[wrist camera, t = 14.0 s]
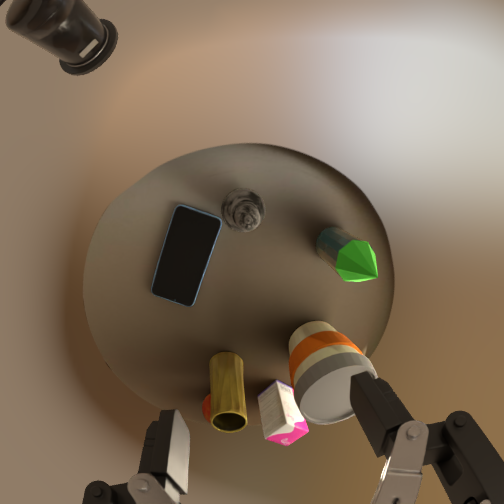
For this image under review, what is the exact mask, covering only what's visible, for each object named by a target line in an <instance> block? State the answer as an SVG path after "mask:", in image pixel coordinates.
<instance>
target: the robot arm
mask: <svg viewBox="0 0 504 504" xmlns="http://www.w3.org/2000/svg"><path fill="white" fill-rule="evenodd" d="M5 1H6V0H0V6H1V5H2V4H3V3H4V2H5ZM5 23H6V26H7V27H8V29H9V30H11V31H12V32H14V33H16V34H18V35H20V36H22V37H23V38H25V39H27V40H29V41H30V42H32V43H34V44H36V45H37V46H39V47H41V48H42V49H44V50H46V51H48V52H49V53H51V54H53V55H54V56H56V57H57V58H59V59H60V60H62V61H64V62H65V63H66V64H67V65H69V66H71V67H83V66H85V65H88V64H90V63H91V62H93V61H94V60H95V59H97V58H98V57H99V56H100V55H101V53H102V52H103V51H104V49H105V48H106V46H107V44H108V41H109V31H108V29H107V28H106V27H105V26H104V25H103V24H102V23H101V21H100V19H99V18H98V17H97V16H96V15H95V14H94V13H93V11H92V10H91V9H90V8H89V7H88V6H87V5H86V4H85V2H84V1H83V0H13V1H12V3H11V5H10V7H9V9H8V11H7V14H6V20H5ZM349 398H350V404H351V407H352V409H353V411H354V413H355V415H356V417H357V419H358V421H359V422H360V425H361V426H362V428H363V430H364V432H365V434H366V436H367V438H368V440H369V442H370V444H371V446H372V448H373V450H374V452H375V454H376V456H377V457H380V456H382V455H385V456H386V459H387V461H386V465H385V468H384V470H383V473H382V476H381V479H380V482H379V485H378V487H377V490H376V492H375V495H374V497H373V499H372V501H371V503H370V504H415V501H416V499H417V495H418V491H419V488H420V484H421V480H422V473H421V469H422V466H424V465H428V464H432V466H433V468H434V470H435V471H436V474H437V475H438V477H439V479H440V481H441V483H442V485H443V487H444V489H445V491H446V493H447V495H448V497H449V499H450V501H451V503H452V504H504V462H503V460H502V459H501V457H500V456H499V454H498V453H497V451H496V450H495V448H494V447H493V445H492V444H491V443H490V441H489V440H488V438H487V437H486V435H485V434H484V433H483V431H482V430H481V429H480V427H479V426H478V424H477V423H476V422H475V420H474V419H473V418H472V416H471V415H470V414H469V413H467V412H465V411H455V412H453V413H451V414H450V415H449V416H448V417H447V419H446V421H443V422H438V423H434V424H424V423H423V422H420V421H416V420H414V419H413V418H412V416H411V415H410V413H409V412H408V410H407V409H406V408H405V406H404V405H403V403H402V402H401V401H400V399H399V398H398V397H397V395H396V394H395V392H393V389H392V388H391V387H390V385H389V384H388V383H387V382H386V381H384V380H382V379H381V378H376V379H373V378H372V377H371V375H370V374H369V373H368V372H367V371H364V372H361V373H358V374H355V375H352V376H351V379H350V395H349ZM189 449H190V433H189V430H188V427H187V425H186V424H185V422H184V420H183V418H182V416H181V414H180V412H179V411H178V410H177V409H173V410H162V411H161V412H160V417H159V421H153V422H152V423H151V424H150V426H149V427H148V429H147V432H146V437H145V442H144V447H143V451H142V456H141V461H140V466H139V471H138V473H137V474H136V475H134V476H133V477H132V478H131V479H130V480H129V481H128V482H127V483H124V484H118V485H112V486H109V485H108V484H107V483H105V482H103V481H94V482H91V483H90V484H89V485H88V486H87V487H86V489H85V493H84V498H83V503H82V504H181V503H180V502H179V494H187V485H188V465H189V464H188V463H189Z"/></svg>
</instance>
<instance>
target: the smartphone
mask: <svg viewBox="0 0 504 504" xmlns="http://www.w3.org/2000/svg"><path fill="white" fill-rule="evenodd" d="M221 226H222V221H221V219H220V218H219V217H217V216H214V215H212V214H209V213H206V212H203V211H200V210H197V209H195V208H192V207H189V206H186V205H178V206H176V208H175V209H174V212H173V215H172V218H171V221H170V224H169V228H168V231H167V234H166V237H165V240H164V244H163V247H162V251H161V254H160V257H159V261H158V263H157V268H156V270H155V274H154V278H153V283H152V287H151V292H152V294H153V295H155V296H157V297H160V298H163V299H166V300H169V301H171V302H174V303H177V304H180V305H183V306H187V307H191V306H193V305H194V303H195V300H196V297H197V294H198V291H199V288H200V285H201V283H202V280H203V277H204V274H205V271H206V268H207V265H208V262H209V260H210V257H211V254H212V251H213V248H214V246H215V243H216V240H217V237H218V235H219V232H220V229H221Z"/></svg>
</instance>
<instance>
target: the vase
mask: <svg viewBox="0 0 504 504" xmlns="http://www.w3.org/2000/svg"><path fill="white" fill-rule="evenodd" d="M209 367H210V388H211V412H210V420H211V425H212V426H213V427H214V428H215V429H216V430H218V431H220V432H225V433H232V432H237V431H240V430H242V429H243V428H244V427H245V426H246V425H247V413H246V404H245V394H244V384H243V361H242V359H241V358H240V357H239V356H238V355H237V354H235V353H232V352H220V353H218V354H216V355H214V356H213V357H212V358H211V360H210V362H209Z"/></svg>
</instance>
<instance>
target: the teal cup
mask: <svg viewBox="0 0 504 504" xmlns="http://www.w3.org/2000/svg"><path fill="white" fill-rule="evenodd" d="M352 240H358V241H363V240H361V239H360V238H358V237H356V236H354V235H352V234H350V233H348V232H346V231H344V230H342V229H340V228H337V227H329V228H326V229H325V230H323V231H322V232H321V233H320V234H319V236H318V238H317V240H316V251H317V254H318V255H319V256H320V258H321V259H322V260H323V261H325V262H326V263H327V264H328V265H329V266H330V267H331V268H332V269H333V270H334V271H335V272H336V273H337V274H338V275H339V273H338V272H337V270H336V269H335V267H336V263H337V258H338V253H339V250H341V249H342V248H343V247H344V246H346V245H347V244H348V243H349V242H350V241H352ZM370 247H371V246H370ZM371 248H372V247H371ZM372 250H373V249H372ZM351 282H354V281H351Z"/></svg>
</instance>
